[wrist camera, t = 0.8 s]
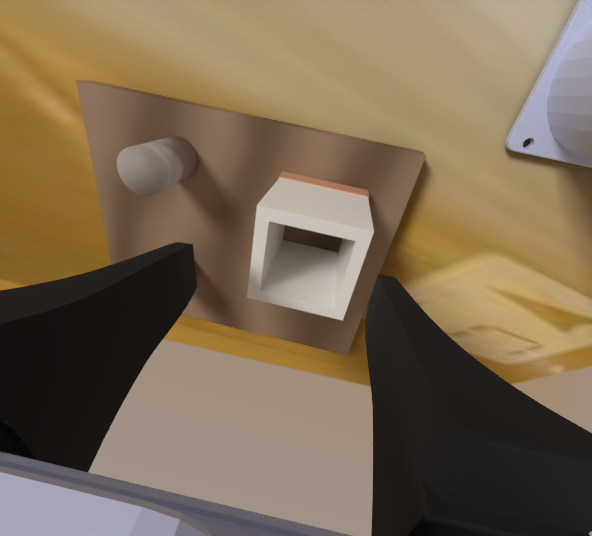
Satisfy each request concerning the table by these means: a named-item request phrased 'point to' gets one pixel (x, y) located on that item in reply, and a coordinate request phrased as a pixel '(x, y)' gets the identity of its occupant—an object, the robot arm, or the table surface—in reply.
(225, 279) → the pin board
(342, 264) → the sleeve
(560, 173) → the table surface
